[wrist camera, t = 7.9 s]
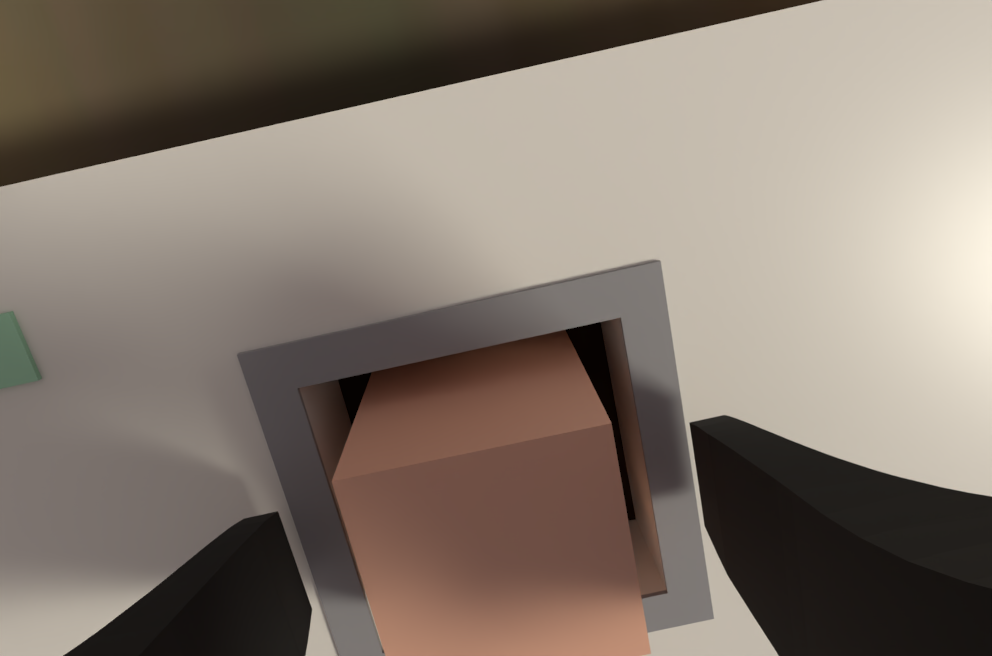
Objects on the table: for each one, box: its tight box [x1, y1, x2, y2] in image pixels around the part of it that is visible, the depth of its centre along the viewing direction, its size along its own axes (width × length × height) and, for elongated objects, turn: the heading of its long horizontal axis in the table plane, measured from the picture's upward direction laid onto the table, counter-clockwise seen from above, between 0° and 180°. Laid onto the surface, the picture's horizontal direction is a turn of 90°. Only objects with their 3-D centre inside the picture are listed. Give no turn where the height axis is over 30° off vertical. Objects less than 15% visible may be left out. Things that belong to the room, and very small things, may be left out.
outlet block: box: [0, 0, 992, 656], centre depth 14 cm, size 14×20×3 cm
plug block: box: [332, 330, 651, 656], centre depth 13 cm, size 4×4×5 cm
